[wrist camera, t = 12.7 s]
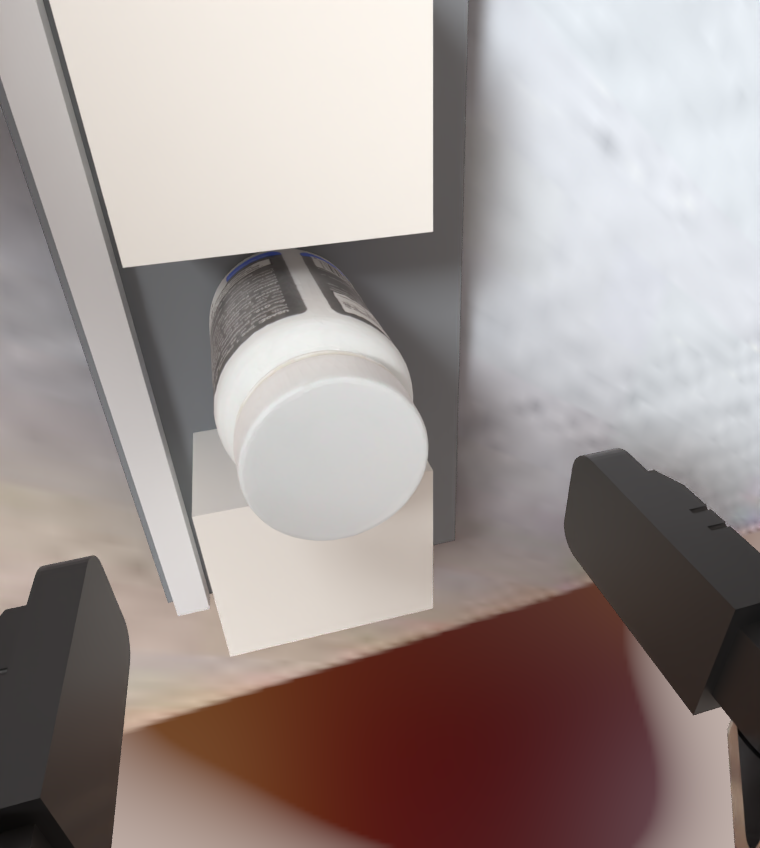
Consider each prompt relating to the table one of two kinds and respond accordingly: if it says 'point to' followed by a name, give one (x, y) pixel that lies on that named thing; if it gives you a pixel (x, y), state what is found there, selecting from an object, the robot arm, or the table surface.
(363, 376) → the pill bottle
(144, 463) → the rail board
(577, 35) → the table surface
